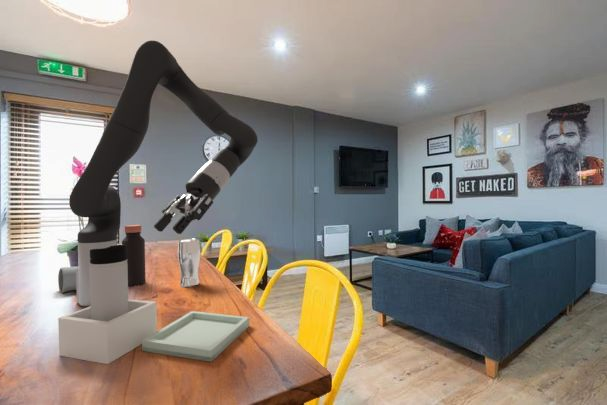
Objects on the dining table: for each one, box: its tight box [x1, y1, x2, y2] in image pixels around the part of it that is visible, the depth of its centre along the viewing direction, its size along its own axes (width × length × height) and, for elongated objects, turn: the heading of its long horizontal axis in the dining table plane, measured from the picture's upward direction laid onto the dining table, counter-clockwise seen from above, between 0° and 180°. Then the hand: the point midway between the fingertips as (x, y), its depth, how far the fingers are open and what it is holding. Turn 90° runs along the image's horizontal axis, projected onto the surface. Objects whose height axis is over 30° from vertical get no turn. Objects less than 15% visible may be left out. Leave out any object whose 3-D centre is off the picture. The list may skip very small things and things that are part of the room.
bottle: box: [121, 224, 147, 288], centre depth 100 cm, size 7×7×20 cm
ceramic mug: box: [57, 265, 78, 293], centre depth 97 cm, size 11×8×8 cm
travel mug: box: [90, 244, 129, 322], centre depth 59 cm, size 6×7×20 cm
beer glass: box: [177, 238, 201, 288], centre depth 99 cm, size 7×7×15 cm
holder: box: [57, 298, 158, 365], centre depth 59 cm, size 12×12×7 cm
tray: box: [141, 310, 250, 363], centre depth 61 cm, size 15×15×2 cm
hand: (166, 230), depth 68 cm, fingers open, 8 cm apart
